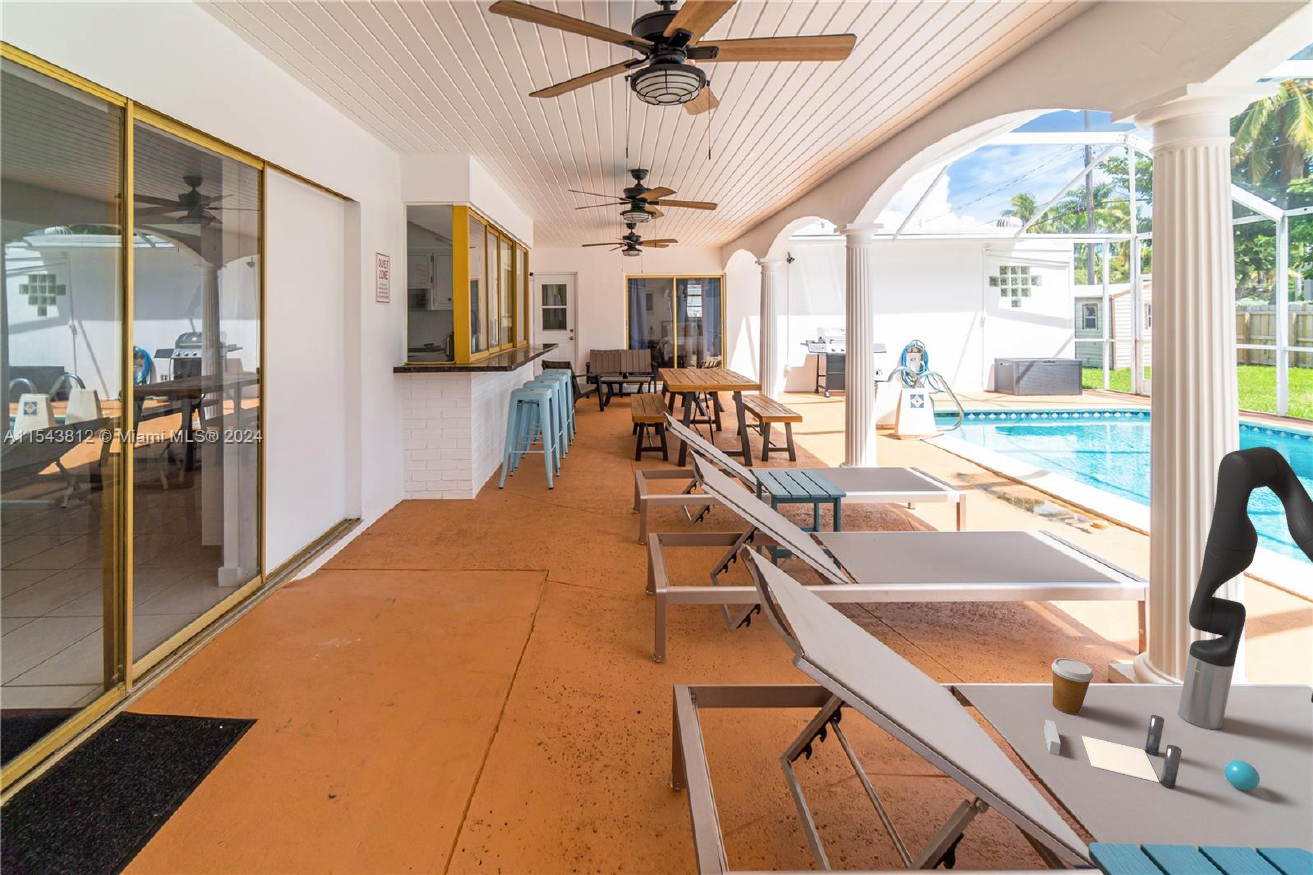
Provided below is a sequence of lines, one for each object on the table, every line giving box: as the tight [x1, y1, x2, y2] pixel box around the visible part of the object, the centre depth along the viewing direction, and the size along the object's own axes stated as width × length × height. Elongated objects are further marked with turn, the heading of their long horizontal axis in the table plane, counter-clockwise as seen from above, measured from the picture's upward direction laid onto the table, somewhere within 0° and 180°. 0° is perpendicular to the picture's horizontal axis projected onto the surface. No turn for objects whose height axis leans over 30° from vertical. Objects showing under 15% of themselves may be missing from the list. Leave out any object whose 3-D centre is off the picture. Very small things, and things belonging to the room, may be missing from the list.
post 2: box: [1159, 744, 1183, 790], centre depth 153 cm, size 3×3×9 cm
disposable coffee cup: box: [1051, 657, 1094, 715], centre depth 183 cm, size 10×10×12 cm
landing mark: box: [1081, 735, 1160, 784], centre depth 163 cm, size 13×13×1 cm
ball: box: [1223, 759, 1261, 791], centre depth 154 cm, size 6×6×6 cm
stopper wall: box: [1043, 719, 1062, 756], centre depth 168 cm, size 10×2×3 cm, turn 157°
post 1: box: [1144, 714, 1165, 757], centre depth 165 cm, size 3×3×9 cm
